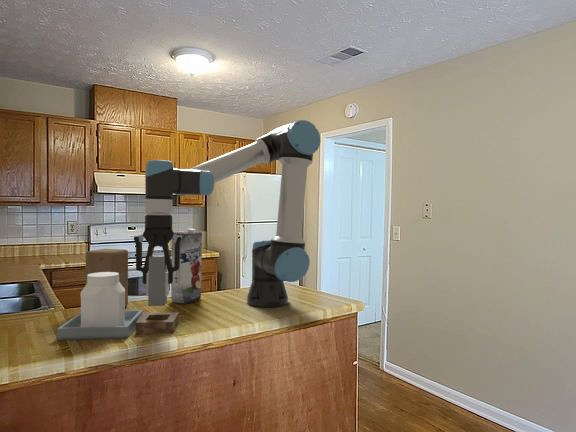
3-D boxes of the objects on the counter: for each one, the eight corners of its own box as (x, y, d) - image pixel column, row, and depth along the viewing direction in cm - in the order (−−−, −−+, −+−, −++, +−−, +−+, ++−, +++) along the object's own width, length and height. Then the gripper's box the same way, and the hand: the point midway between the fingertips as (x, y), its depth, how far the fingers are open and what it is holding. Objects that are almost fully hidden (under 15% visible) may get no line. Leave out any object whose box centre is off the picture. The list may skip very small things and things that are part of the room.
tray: (142, 319, 124) (142, 309, 123) (127, 338, 106) (127, 326, 106) (82, 320, 121) (82, 311, 121) (56, 340, 104) (56, 328, 104)
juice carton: (167, 302, 146) (167, 228, 145) (185, 296, 155) (185, 227, 155) (187, 305, 142) (188, 229, 142) (204, 299, 152) (205, 228, 151)
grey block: (166, 302, 118) (167, 254, 118) (164, 305, 114) (164, 256, 113) (151, 302, 117) (152, 254, 117) (148, 306, 113) (148, 256, 113)
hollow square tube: (178, 322, 121) (178, 312, 121) (173, 332, 111) (173, 321, 111) (144, 323, 120) (144, 313, 120) (135, 333, 110) (135, 322, 110)
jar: (120, 319, 121) (120, 270, 121) (128, 327, 113) (129, 274, 113) (77, 325, 114) (77, 273, 114) (83, 334, 106) (84, 278, 106)
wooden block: (111, 313, 130) (111, 252, 129) (84, 311, 132) (84, 251, 131) (129, 306, 140) (129, 249, 139) (103, 304, 142) (104, 248, 141)
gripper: (191, 214, 120) (190, 291, 120) (130, 213, 117) (129, 292, 118) (188, 215, 112) (187, 297, 113) (123, 214, 110) (122, 298, 110)
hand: (157, 294), depth 115 cm, fingers closed on grey block, 4 cm apart
